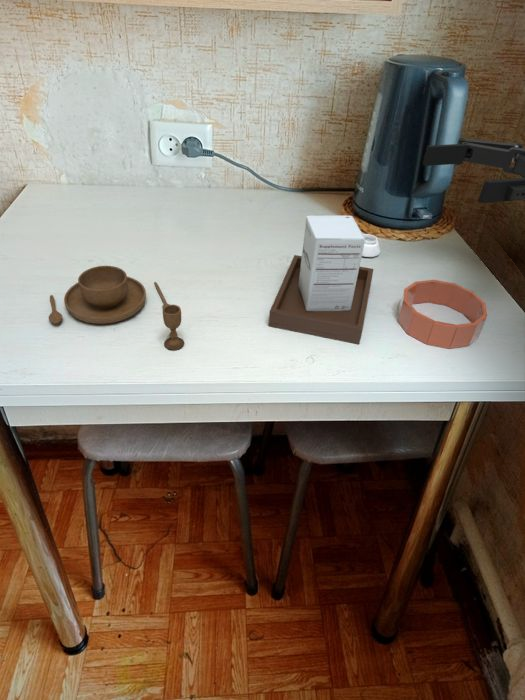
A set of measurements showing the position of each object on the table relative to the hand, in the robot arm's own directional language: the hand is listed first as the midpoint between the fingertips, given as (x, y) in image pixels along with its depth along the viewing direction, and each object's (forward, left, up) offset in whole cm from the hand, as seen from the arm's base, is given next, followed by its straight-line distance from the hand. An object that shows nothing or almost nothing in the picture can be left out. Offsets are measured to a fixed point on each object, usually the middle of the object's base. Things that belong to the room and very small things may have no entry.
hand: (452, 172), depth 70 cm
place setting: (-20, +43, -21) cm, 52 cm away
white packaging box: (-6, +14, -21) cm, 26 cm away
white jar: (+14, +9, -21) cm, 27 cm away
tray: (-6, +14, -21) cm, 26 cm away
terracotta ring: (-5, -4, -21) cm, 22 cm away
